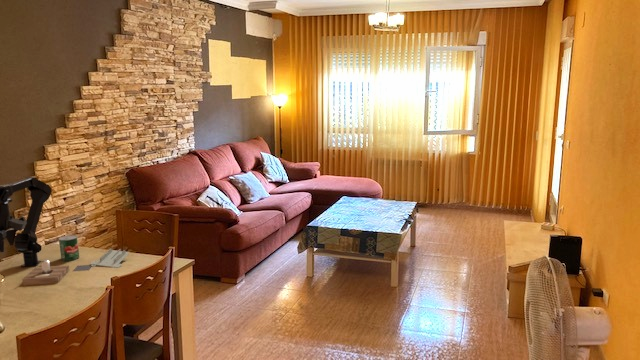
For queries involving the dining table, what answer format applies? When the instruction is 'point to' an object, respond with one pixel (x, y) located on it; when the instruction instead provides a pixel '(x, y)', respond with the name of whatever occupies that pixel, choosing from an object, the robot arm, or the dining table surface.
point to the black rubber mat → (82, 268)
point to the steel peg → (45, 267)
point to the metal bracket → (111, 259)
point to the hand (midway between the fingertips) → (7, 248)
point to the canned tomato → (69, 248)
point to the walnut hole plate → (46, 275)
